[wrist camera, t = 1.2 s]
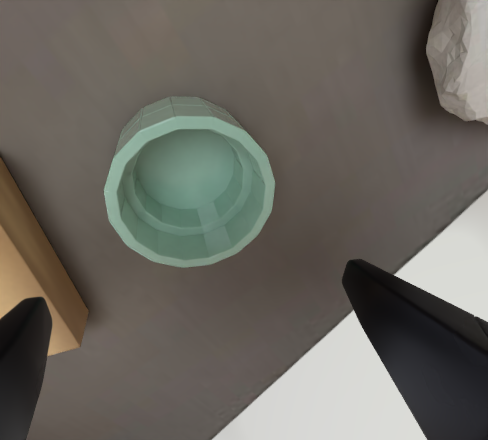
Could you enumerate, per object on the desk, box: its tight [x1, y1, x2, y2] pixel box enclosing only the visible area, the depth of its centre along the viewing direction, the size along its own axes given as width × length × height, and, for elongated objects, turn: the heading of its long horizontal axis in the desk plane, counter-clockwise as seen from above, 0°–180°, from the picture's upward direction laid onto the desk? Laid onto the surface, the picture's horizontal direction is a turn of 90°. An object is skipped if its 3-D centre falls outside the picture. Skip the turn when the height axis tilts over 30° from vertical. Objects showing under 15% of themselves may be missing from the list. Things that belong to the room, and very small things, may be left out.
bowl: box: [104, 96, 275, 268], centre depth 15 cm, size 7×7×5 cm
